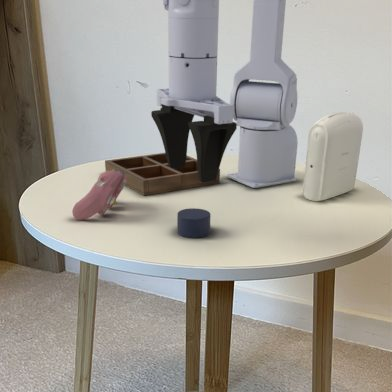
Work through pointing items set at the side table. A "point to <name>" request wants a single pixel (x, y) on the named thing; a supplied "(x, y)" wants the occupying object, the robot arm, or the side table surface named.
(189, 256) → the side table surface
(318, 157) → the photo printer
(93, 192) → the pink rounded lump
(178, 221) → the round container
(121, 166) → the grid
